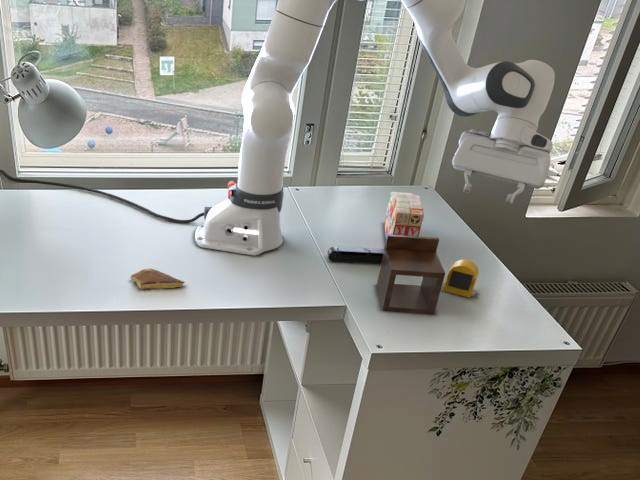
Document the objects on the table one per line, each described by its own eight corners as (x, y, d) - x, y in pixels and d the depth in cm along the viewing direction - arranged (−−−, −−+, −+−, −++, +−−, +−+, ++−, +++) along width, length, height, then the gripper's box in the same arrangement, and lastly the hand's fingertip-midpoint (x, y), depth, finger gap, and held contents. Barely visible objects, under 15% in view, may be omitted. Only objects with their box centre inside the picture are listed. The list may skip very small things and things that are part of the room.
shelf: (382, 310, 150) (394, 256, 143) (376, 286, 159) (387, 234, 152) (434, 314, 149) (449, 260, 142) (425, 289, 158) (438, 237, 151)
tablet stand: (327, 261, 169) (329, 250, 167) (326, 257, 171) (328, 245, 169) (401, 265, 168) (404, 254, 166) (399, 260, 170) (402, 249, 168)
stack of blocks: (383, 223, 188) (392, 180, 181) (407, 225, 187) (417, 182, 180) (387, 258, 171) (397, 211, 164) (413, 260, 170) (424, 214, 163)
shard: (184, 287, 157) (185, 280, 156) (162, 300, 152) (162, 293, 151) (149, 272, 162) (149, 265, 161) (127, 284, 158) (126, 277, 156)
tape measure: (442, 291, 158) (450, 263, 154) (446, 284, 161) (454, 256, 157) (472, 299, 155) (481, 270, 151) (476, 291, 158) (484, 263, 154)
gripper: (464, 122, 156) (440, 182, 158) (560, 144, 148) (534, 206, 150) (464, 131, 162) (442, 188, 164) (557, 152, 154) (532, 211, 156)
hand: (487, 197), depth 157 cm, fingers open, 8 cm apart
